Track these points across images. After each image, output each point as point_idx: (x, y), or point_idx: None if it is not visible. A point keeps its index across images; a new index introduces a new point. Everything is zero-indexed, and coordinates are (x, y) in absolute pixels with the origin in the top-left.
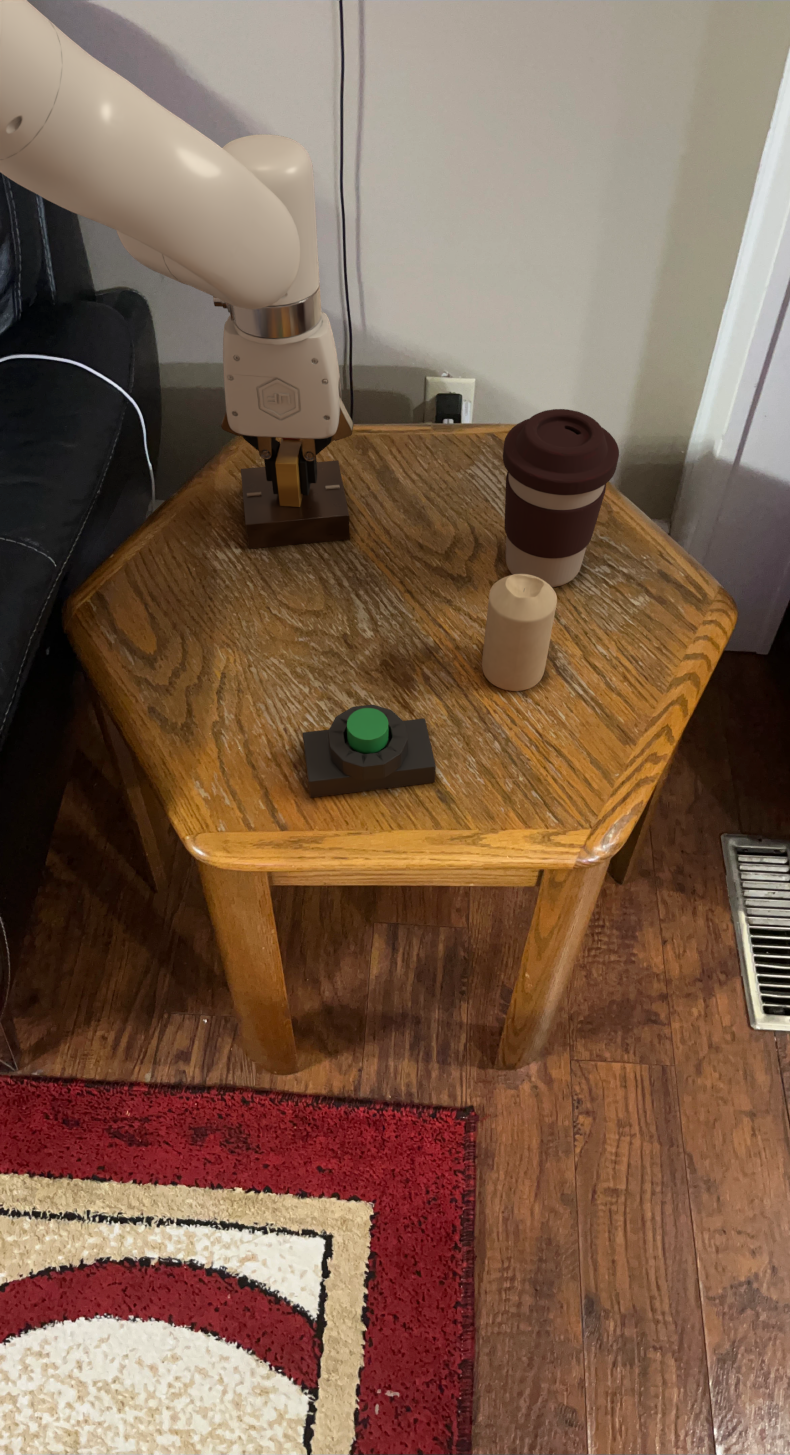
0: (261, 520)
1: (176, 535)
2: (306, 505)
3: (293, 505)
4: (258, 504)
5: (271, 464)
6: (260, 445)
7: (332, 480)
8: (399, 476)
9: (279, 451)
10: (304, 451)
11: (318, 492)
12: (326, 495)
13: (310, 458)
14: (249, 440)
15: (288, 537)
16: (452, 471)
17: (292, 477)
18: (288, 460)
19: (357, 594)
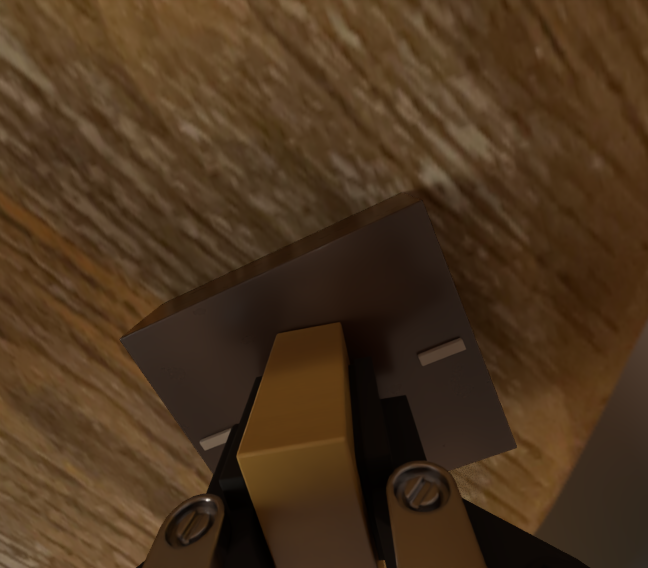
0: (374, 236)
1: (628, 188)
2: (260, 345)
3: (296, 331)
4: (412, 311)
5: (381, 439)
6: (459, 533)
7: None
8: (155, 521)
9: (358, 519)
10: (205, 542)
11: None
12: (222, 401)
13: (200, 509)
14: (543, 557)
15: (298, 244)
16: (61, 556)
17: (273, 397)
18: (286, 471)
19: (37, 95)
